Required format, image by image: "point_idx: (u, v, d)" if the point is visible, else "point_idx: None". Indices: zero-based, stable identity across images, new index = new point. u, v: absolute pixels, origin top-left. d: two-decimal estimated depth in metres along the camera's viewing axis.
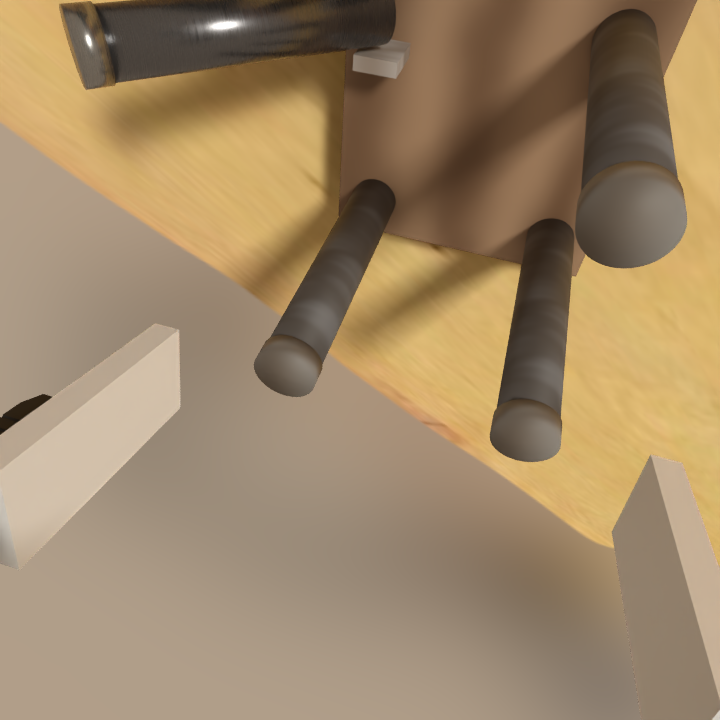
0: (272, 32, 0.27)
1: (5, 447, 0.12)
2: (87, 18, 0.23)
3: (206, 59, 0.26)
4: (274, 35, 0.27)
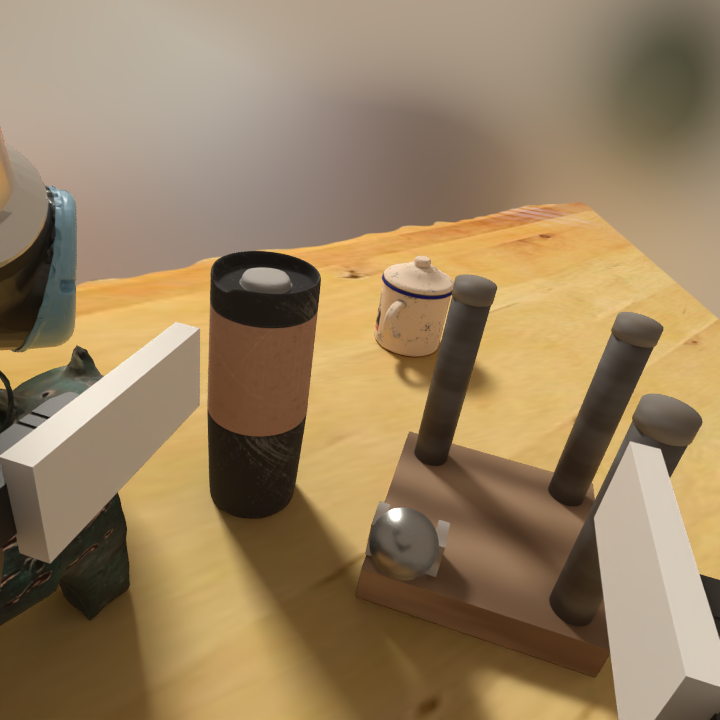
0: None
1: (38, 443, 0.12)
2: None
3: None
4: None
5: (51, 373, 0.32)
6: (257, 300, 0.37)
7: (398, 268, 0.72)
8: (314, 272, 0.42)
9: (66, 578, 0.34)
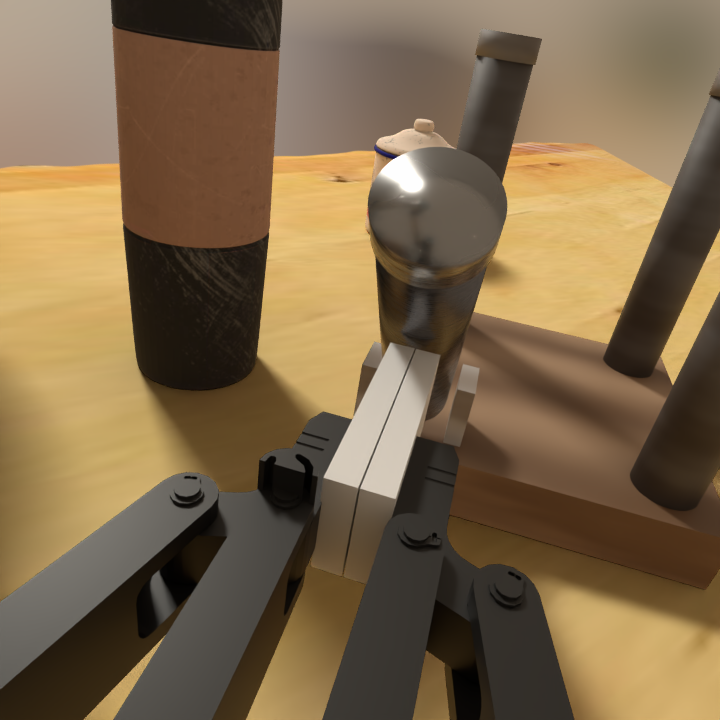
0: None
1: (348, 464, 0.13)
2: None
3: None
4: None
5: None
6: None
7: (394, 135, 0.58)
8: None
9: None
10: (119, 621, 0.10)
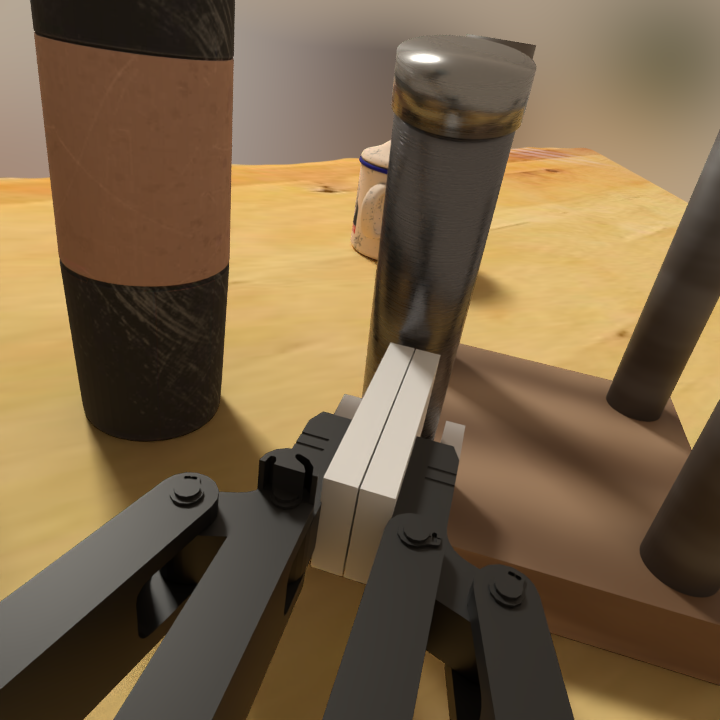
0: None
1: (348, 464, 0.13)
2: None
3: None
4: None
5: None
6: None
7: (380, 146, 0.55)
8: None
9: None
10: (119, 621, 0.10)
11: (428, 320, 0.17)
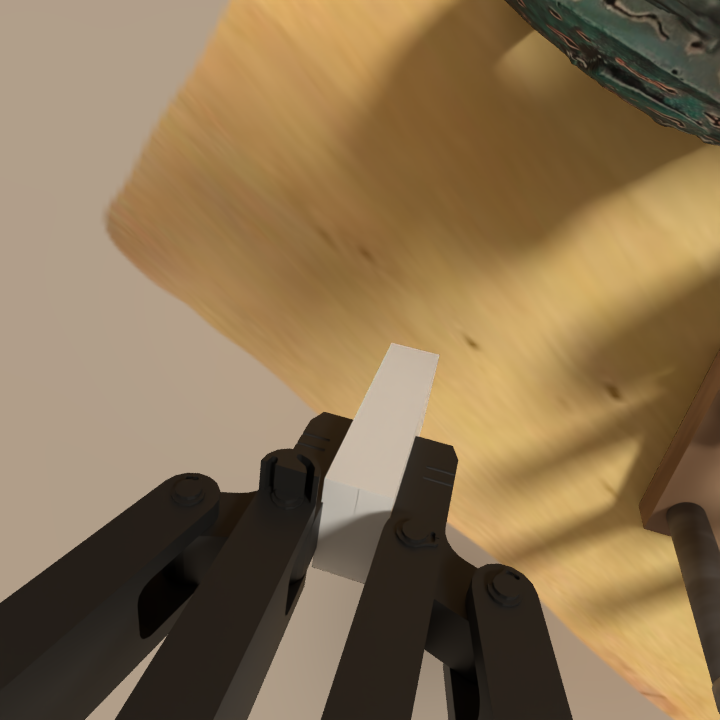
0: None
1: (349, 464, 0.13)
2: None
3: None
4: None
5: None
6: None
7: None
8: None
9: None
10: (120, 622, 0.10)
11: None
